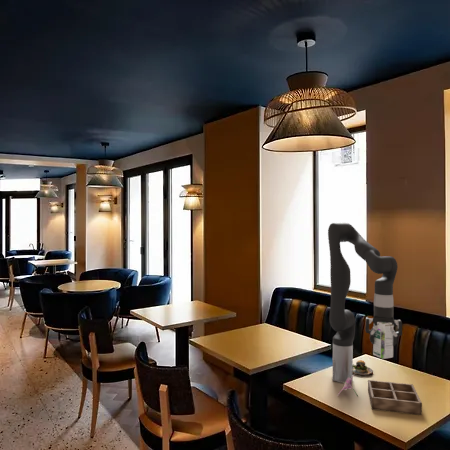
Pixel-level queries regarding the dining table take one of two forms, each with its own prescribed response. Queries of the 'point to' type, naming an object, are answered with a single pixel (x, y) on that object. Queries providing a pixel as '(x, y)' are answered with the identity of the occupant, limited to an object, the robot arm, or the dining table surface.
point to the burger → (361, 368)
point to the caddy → (394, 397)
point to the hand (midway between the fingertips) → (383, 344)
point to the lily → (348, 384)
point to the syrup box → (383, 341)
